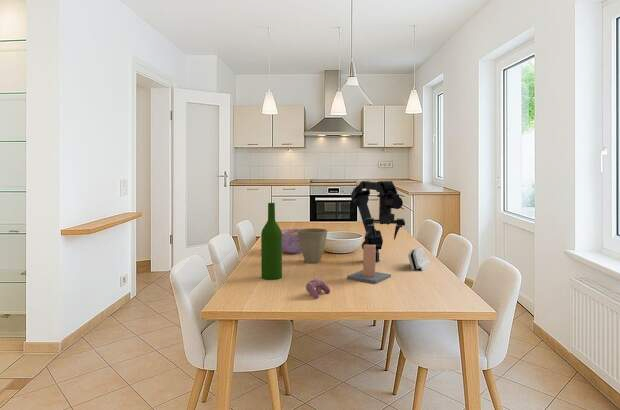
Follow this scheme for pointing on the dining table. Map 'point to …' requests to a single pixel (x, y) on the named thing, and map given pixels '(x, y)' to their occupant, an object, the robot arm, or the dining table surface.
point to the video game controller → (317, 287)
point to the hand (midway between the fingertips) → (384, 239)
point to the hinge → (418, 259)
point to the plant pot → (312, 243)
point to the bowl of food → (290, 241)
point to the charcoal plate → (376, 279)
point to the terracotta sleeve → (369, 260)
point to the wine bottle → (271, 247)
